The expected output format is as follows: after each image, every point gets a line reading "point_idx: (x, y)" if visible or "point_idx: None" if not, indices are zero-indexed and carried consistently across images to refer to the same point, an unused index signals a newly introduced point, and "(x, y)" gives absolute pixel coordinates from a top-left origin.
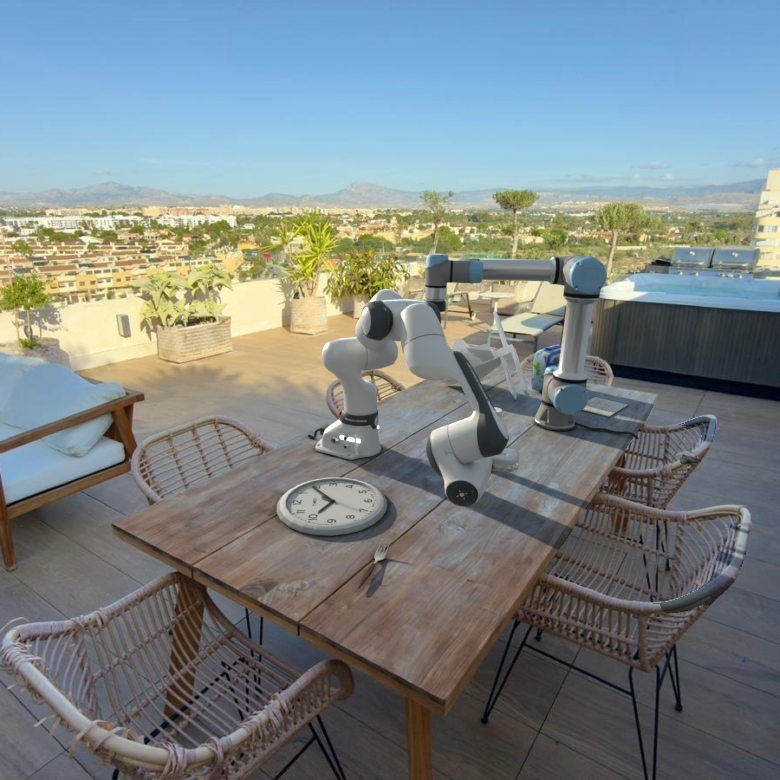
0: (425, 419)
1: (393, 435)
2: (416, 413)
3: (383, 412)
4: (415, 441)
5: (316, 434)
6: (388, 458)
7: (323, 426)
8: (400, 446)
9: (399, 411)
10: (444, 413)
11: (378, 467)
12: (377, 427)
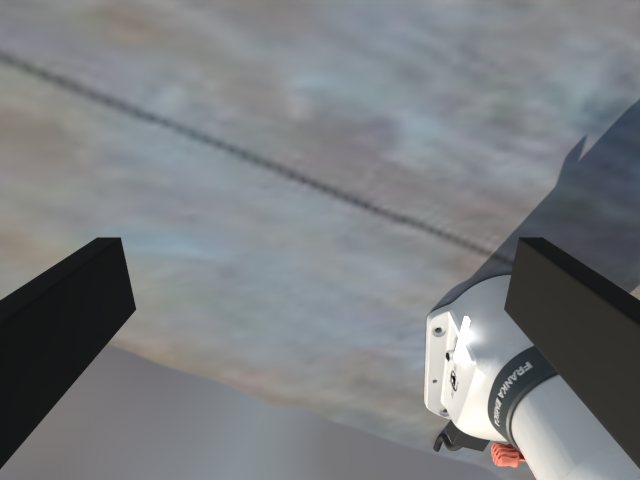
0: (211, 183)
1: (386, 261)
2: (161, 223)
3: (195, 324)
4: (425, 188)
5: (446, 439)
6: (562, 244)
7: (471, 447)
8: (472, 226)
9: (165, 281)
10: (115, 117)
11: (622, 258)
12: (467, 321)
